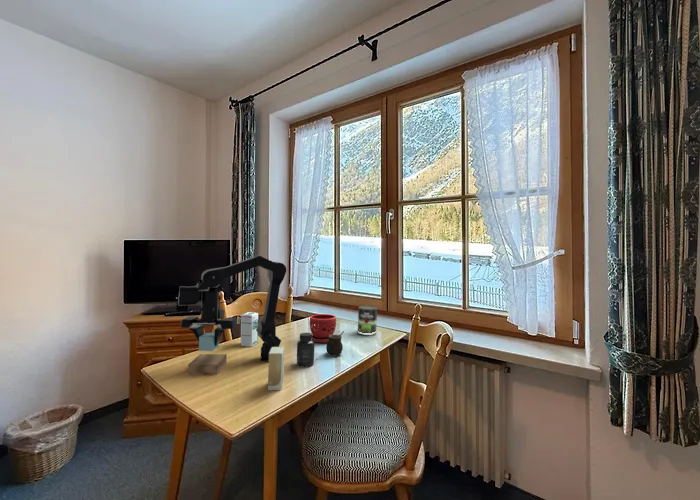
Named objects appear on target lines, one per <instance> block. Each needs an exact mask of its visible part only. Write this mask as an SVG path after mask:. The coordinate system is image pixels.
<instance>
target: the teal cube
mask: <svg viewBox="0 0 700 500" xmlns="http://www.w3.org/2000/svg"><path fill="white" fill-rule="evenodd" d="M219 342H220V341H219ZM219 342H218V345H217V346H215V332H205V333H203V335H201V336H200V337H199V342H198V352H199V351H200V352H202V351H203V352H213V351H215V350H216V349H217V348H219V346H220V345H219Z"/></svg>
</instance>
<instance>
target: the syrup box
mask: <svg viewBox="0 0 700 500" xmlns="http://www.w3.org/2000/svg"><path fill="white" fill-rule="evenodd" d="M258 321H259V312H254V311H247V312H246V313H242V314H241V315H240V346H242V347H248V348H249V347H250V348H252V347H253V346H255V345H256V344H258V343H259V336H258V334H257V331H256V329H257V326H258Z"/></svg>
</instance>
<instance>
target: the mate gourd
mask: <svg viewBox="0 0 700 500" xmlns="http://www.w3.org/2000/svg"><path fill="white" fill-rule="evenodd" d="M344 333H345V331H344V330H343V331H342V332H341V333H340V334H333V335H329V338H328V339H329V340H328V343H327V342H326V346H325V350H326V353H327V354H328V355H329V356H330V355H331V356H332V357H338V356H340V355H341V354H342V351H343V350H344V349H343V344H342V335H343V334H344Z"/></svg>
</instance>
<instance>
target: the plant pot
mask: <svg viewBox="0 0 700 500" xmlns="http://www.w3.org/2000/svg"><path fill="white" fill-rule="evenodd" d="M336 326H337V317H336V315H334V314H329V313H319V314H318V313H317V314H312V315H310V316H309V330H310V333H311V334H312V339H311V340H313V341H314V343H321V344H322V343H326V344H327V342H328V340H329V339H328V338H329V335H335V332H336Z"/></svg>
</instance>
